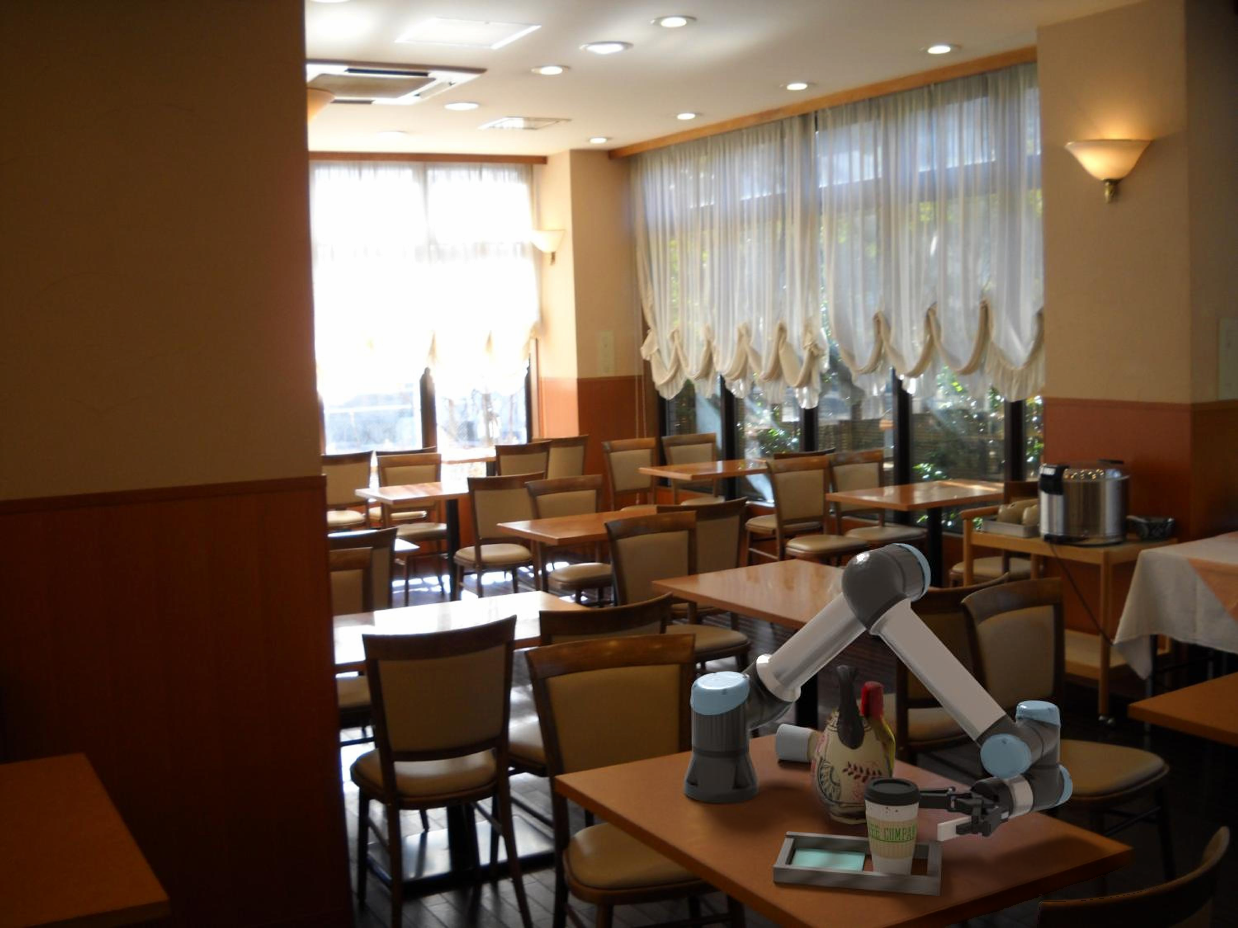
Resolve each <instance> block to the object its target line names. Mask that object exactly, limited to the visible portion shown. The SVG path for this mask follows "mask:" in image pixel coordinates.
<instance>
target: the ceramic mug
mask: <svg viewBox="0 0 1238 928" xmlns="http://www.w3.org/2000/svg"><path fill="white" fill-rule="evenodd" d="M819 739H820V738H819V733H817V731H816V730H813V729H811V728H807V727H801V726H796V725H792V724H787V723H782V724H780V725H779V727H778V728H777V731H776V735H775V741H774V751H775V752H774V753H775V757H776V759H778V760H784V761H789V762H790V761H792V762H799V763H812V757H813V754H814V752H815V748H816V746H817V743H818V741H819Z"/></svg>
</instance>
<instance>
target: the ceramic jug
mask: <svg viewBox="0 0 1238 928" xmlns="http://www.w3.org/2000/svg"><path fill="white" fill-rule="evenodd" d="M834 675H835V677H836V680H837V681H838V694H839V700H838V706H837V710H835V713H834V715H833V717H832V718H831V720H830V721H829V722H828V724H827V725H826V727H825V729H824V731H823V733H822V734H821V737H820V738H819V741H818V743H817V746H816V748H815V752H814V754H813V757H812V762H811V766H810V772H809V773H810V781H811V786H812V789H813V792H814V794H815V795H816V797H817V799H819V801H820V802H821V803H822V804H823V806H824V807H825V808H826V810H827V811H828V813H829V815H830V818H831V819H832V820H834V821H837V822H839V823H843V824H848V825H858V824H867V818H866V802H865V799H864V798H863V796H862V794H863V790H864V789H865V788H866V784H867V782H868V781H870V780H872V779H876V778H886V777H891V778H893V775H892V768H891V764H890V760H889V757H888V754H887V752H886V749H885V747H884V745H883V743H882V742H881V740H880V738H879V737H878V735H877V734H876V732H875V731H874V729H873V728H872V727H871V726H870V724H869V723H868V721H867V720H866V719H865V717H864V716H863V715H862V714H861V712H860V708H859V705H858V704H857V703H858V702H857V699H856V697H857V696H856V687H855V681H856V680H857V679H858V677H859V676H860V669H859V667H857V666H850V665H846V664H841V665H839V666H836V668H835V669H834ZM859 834H861V833H860V832H859Z"/></svg>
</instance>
